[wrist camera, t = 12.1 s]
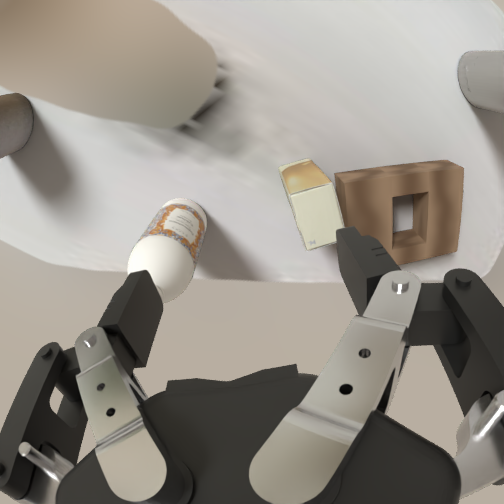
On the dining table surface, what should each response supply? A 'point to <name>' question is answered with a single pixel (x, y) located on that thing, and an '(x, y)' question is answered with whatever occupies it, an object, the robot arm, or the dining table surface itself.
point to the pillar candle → (14, 123)
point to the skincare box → (312, 203)
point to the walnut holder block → (424, 206)
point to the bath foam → (171, 247)
